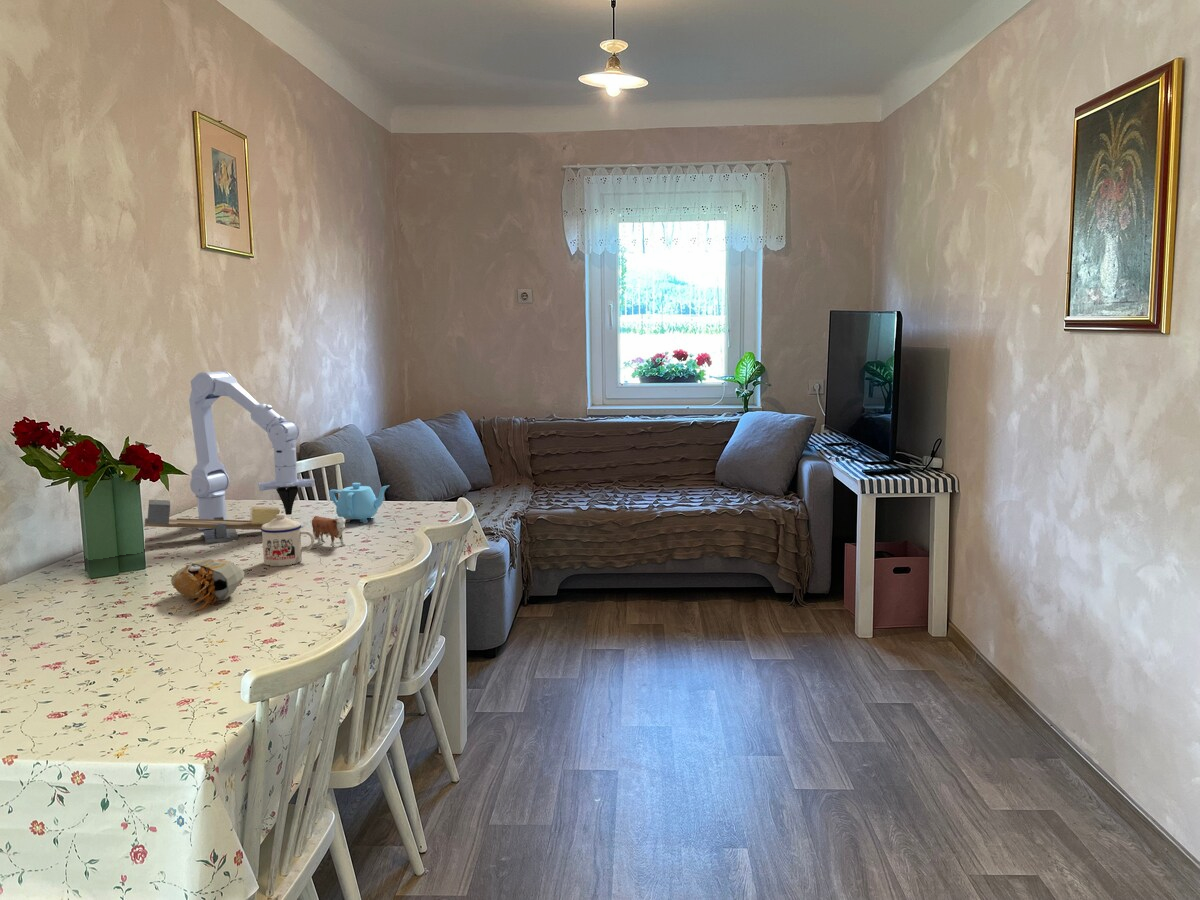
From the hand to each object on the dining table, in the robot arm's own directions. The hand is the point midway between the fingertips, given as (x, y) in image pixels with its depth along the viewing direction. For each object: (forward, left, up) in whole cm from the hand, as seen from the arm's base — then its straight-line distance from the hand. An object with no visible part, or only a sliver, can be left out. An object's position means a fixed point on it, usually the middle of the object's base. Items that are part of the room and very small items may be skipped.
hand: (288, 514), depth 250 cm
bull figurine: (+24, +7, -5) cm, 26 cm away
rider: (0, -7, -2) cm, 7 cm away
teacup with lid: (+36, -5, -5) cm, 37 cm away
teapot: (-4, +20, -5) cm, 21 cm away
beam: (0, -18, -1) cm, 18 cm away
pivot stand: (0, -18, -5) cm, 18 cm away
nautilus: (+61, -25, -5) cm, 66 cm away
